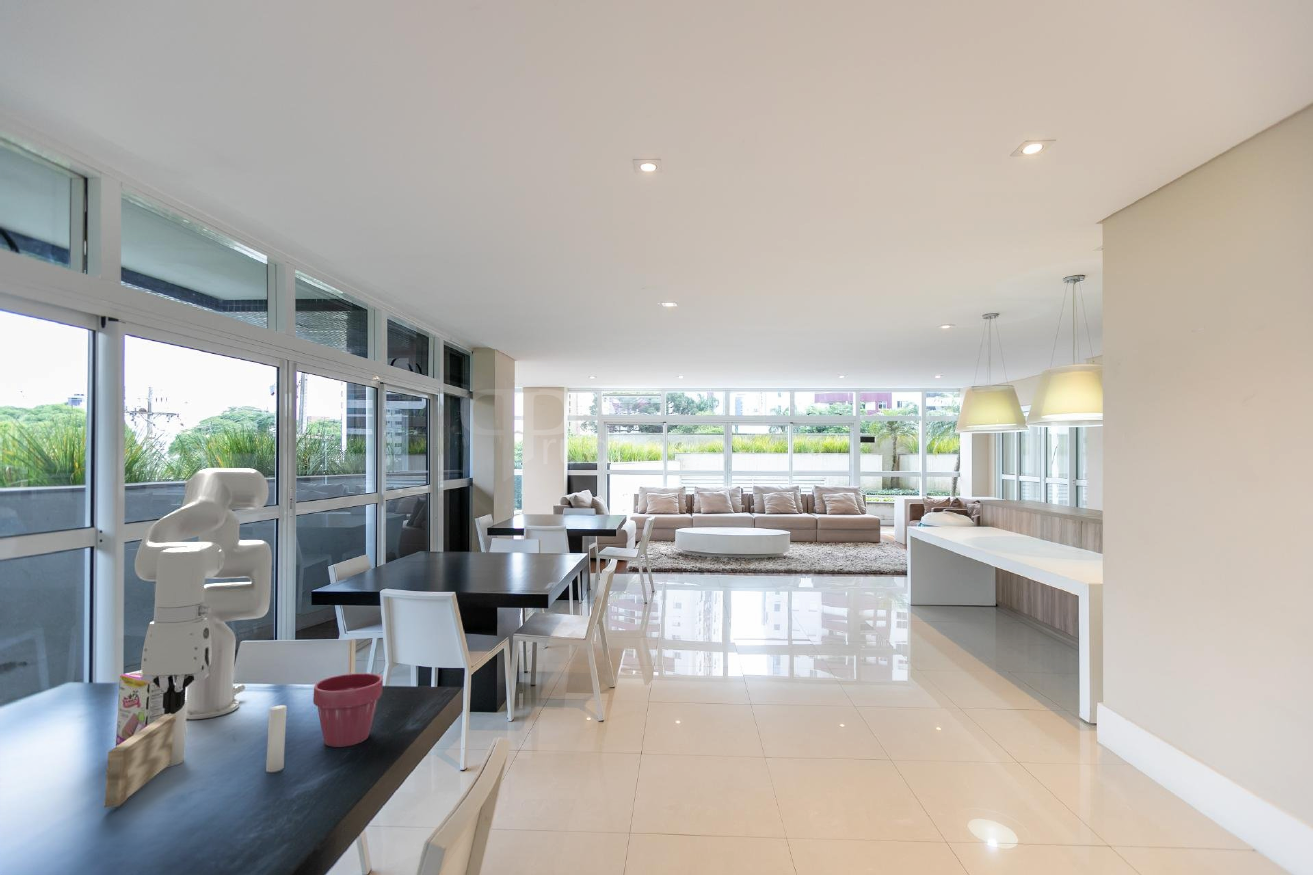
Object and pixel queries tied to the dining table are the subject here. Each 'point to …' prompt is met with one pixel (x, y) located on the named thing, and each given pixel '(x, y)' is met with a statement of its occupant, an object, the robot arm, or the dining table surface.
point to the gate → (138, 760)
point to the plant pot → (347, 707)
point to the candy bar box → (137, 705)
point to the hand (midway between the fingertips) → (173, 710)
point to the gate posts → (274, 737)
